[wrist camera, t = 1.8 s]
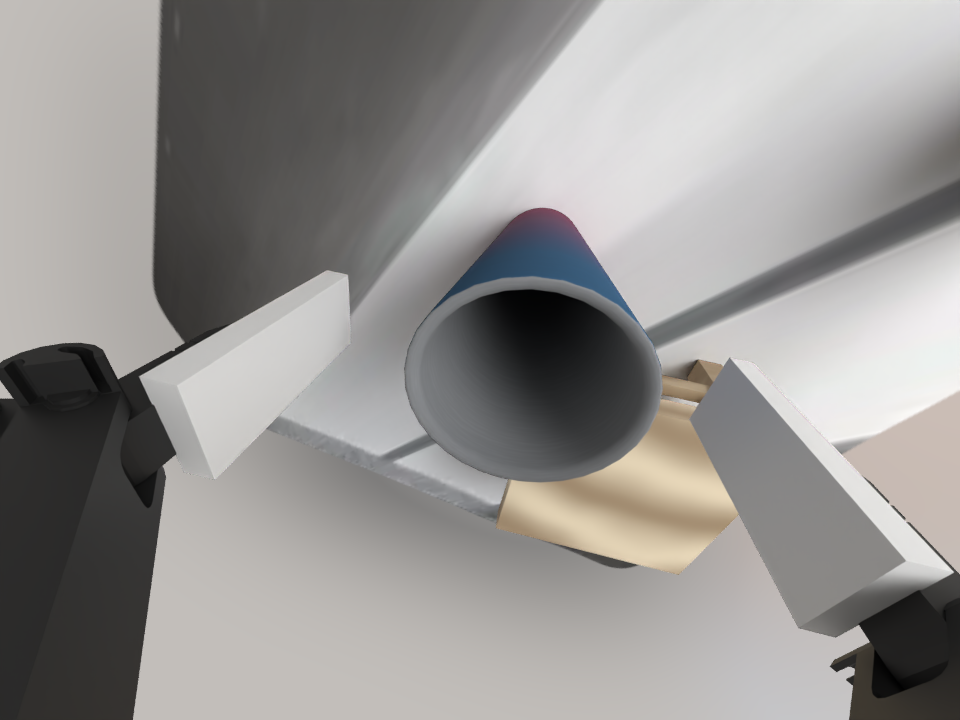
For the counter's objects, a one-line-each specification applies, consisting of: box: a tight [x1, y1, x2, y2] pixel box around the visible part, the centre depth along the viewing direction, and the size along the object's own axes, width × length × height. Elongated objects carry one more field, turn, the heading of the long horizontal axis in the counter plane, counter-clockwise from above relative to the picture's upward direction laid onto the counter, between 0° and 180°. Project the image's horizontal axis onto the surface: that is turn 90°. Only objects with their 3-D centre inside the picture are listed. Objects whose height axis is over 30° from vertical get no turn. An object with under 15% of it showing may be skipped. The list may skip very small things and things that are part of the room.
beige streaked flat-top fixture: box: [496, 360, 739, 575], centre depth 24 cm, size 13×13×8 cm
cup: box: [404, 208, 663, 483], centre depth 16 cm, size 7×7×15 cm
